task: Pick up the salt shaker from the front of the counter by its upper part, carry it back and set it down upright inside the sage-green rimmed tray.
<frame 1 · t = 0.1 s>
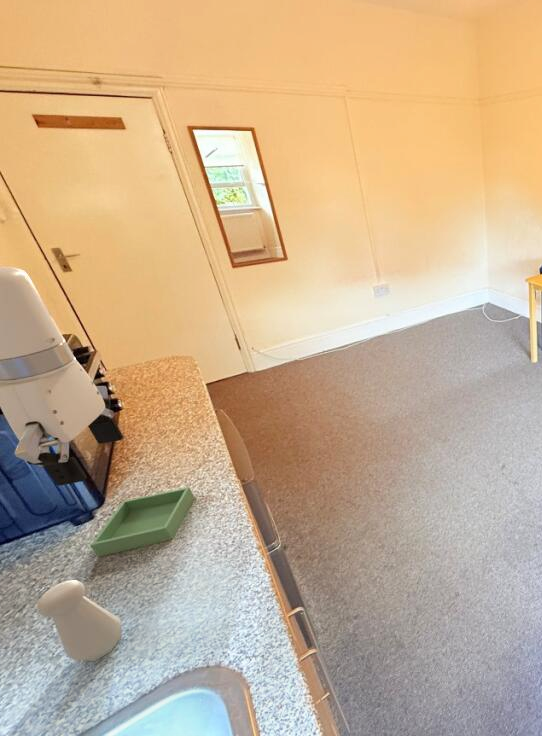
hand: (93, 460, 60), 24 cm above the table, tool pointing down, fingers open, 9 cm apart
tray: (150, 524, 79), on the table
salt shaker: (103, 647, 59), on the table
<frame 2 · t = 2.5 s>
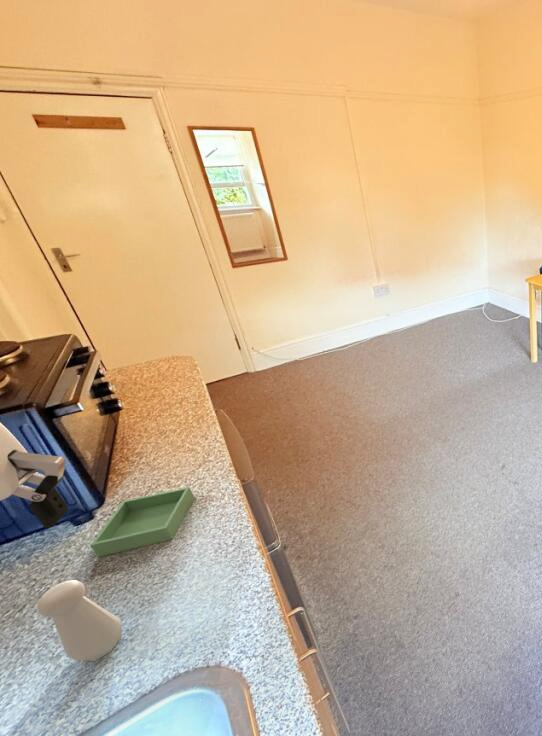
hand: (8, 529, 48), 25 cm above the table, tool pointing down, fingers open, 9 cm apart
nothing on the table moved.
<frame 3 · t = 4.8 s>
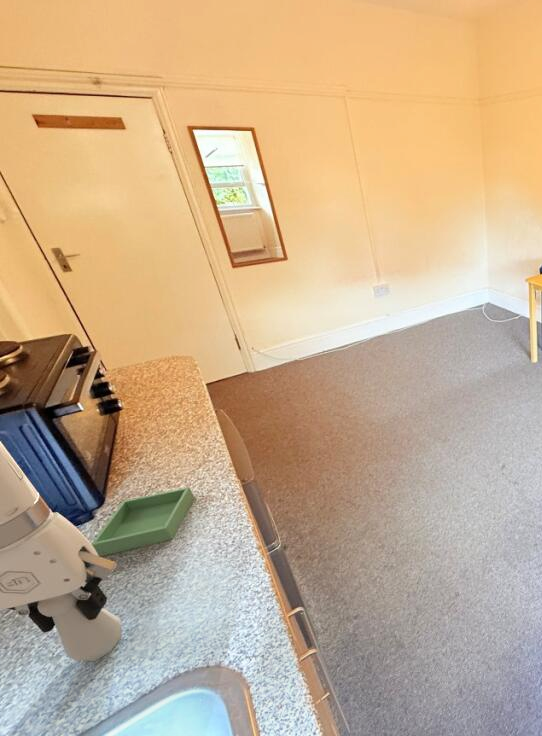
hand: (76, 614, 56), 8 cm above the table, tool pointing down, fingers closed on salt shaker, 4 cm apart
salt shaker: (103, 647, 59), on the table, touching gripper
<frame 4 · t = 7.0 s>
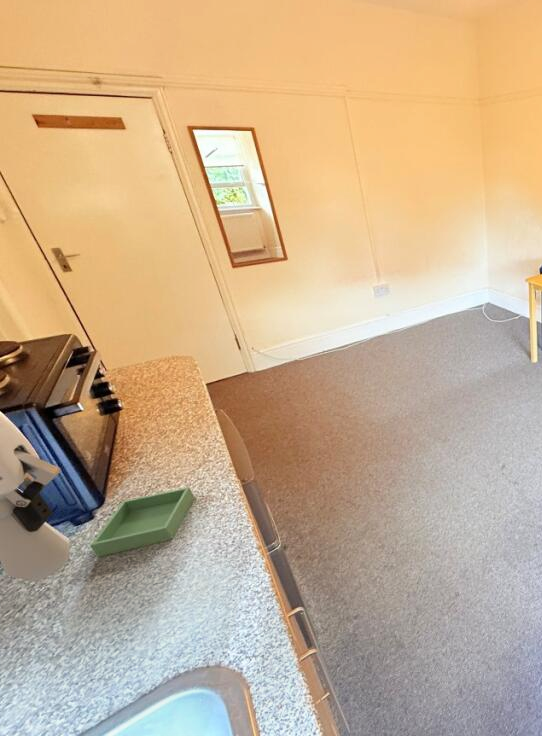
hand: (16, 526, 50), 24 cm above the table, tool pointing down, fingers closed on salt shaker, 4 cm apart
salt shaker: (48, 568, 54), point 16 cm above the table, touching gripper
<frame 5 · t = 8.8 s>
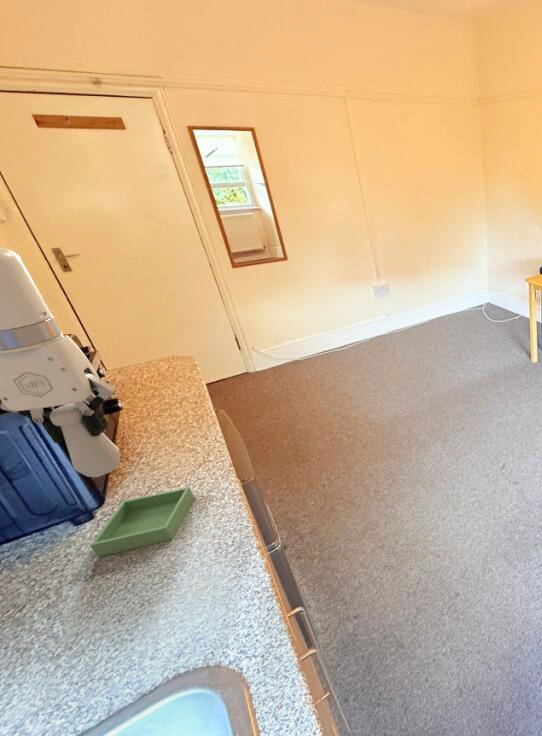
hand: (82, 433, 66), 25 cm above the table, tool pointing down, fingers closed on salt shaker, 4 cm apart
salt shaker: (104, 470, 69), point 17 cm above the table, touching gripper
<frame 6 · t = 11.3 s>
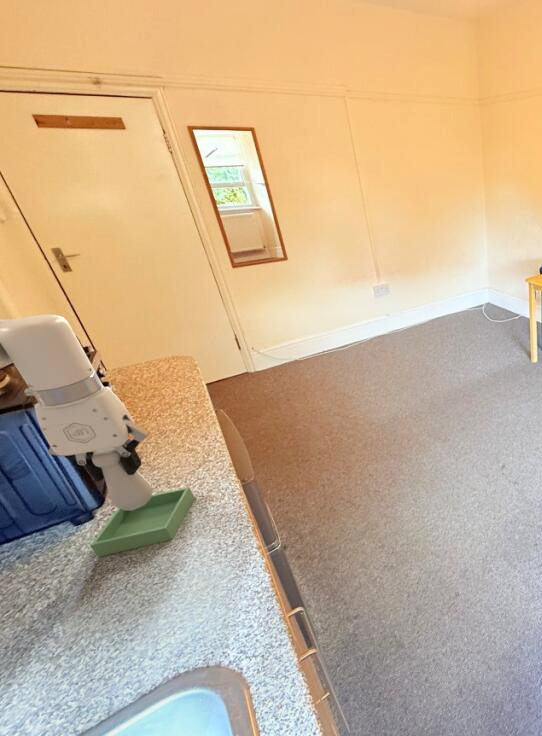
hand: (119, 472, 73), 14 cm above the table, tool pointing down, fingers closed on salt shaker, 4 cm apart
salt shaker: (137, 503, 77), point 6 cm above the table, touching gripper
when the fingers open (8 cm above the table, at t = 13.0 s): salt shaker stays where it is, resting on tray.
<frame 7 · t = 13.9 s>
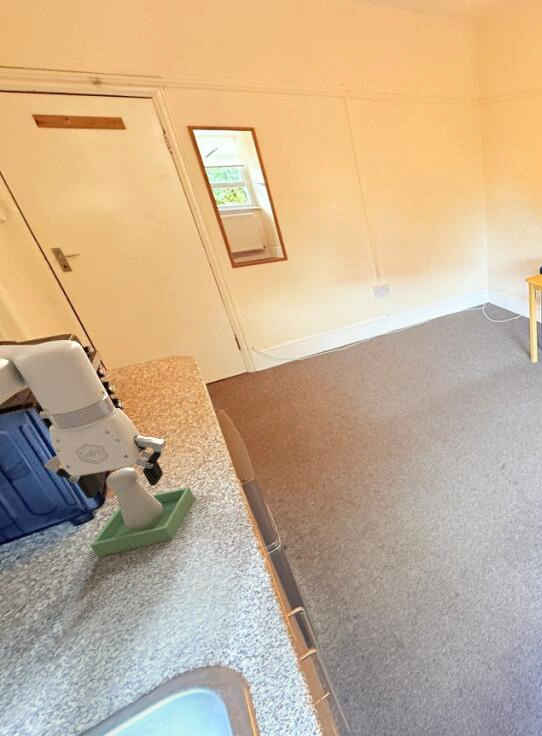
hand: (126, 486, 75), 10 cm above the table, tool pointing down, fingers open, 9 cm apart
salt shaker: (149, 523, 79), resting on tray
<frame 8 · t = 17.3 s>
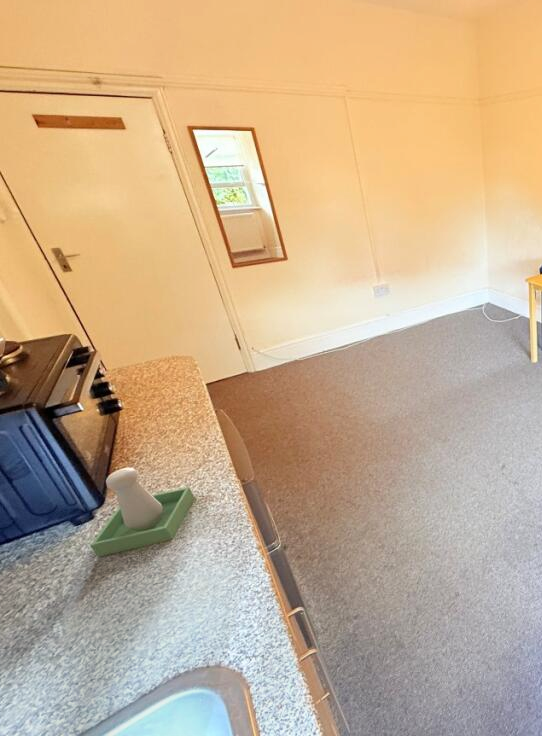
nothing on the table moved.
at the end: salt shaker inside the target area in the tray (0.1 cm from its centre), point 0.4 cm above the tray's base; salt shaker tilted 0°; the gripper is holding nothing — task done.
